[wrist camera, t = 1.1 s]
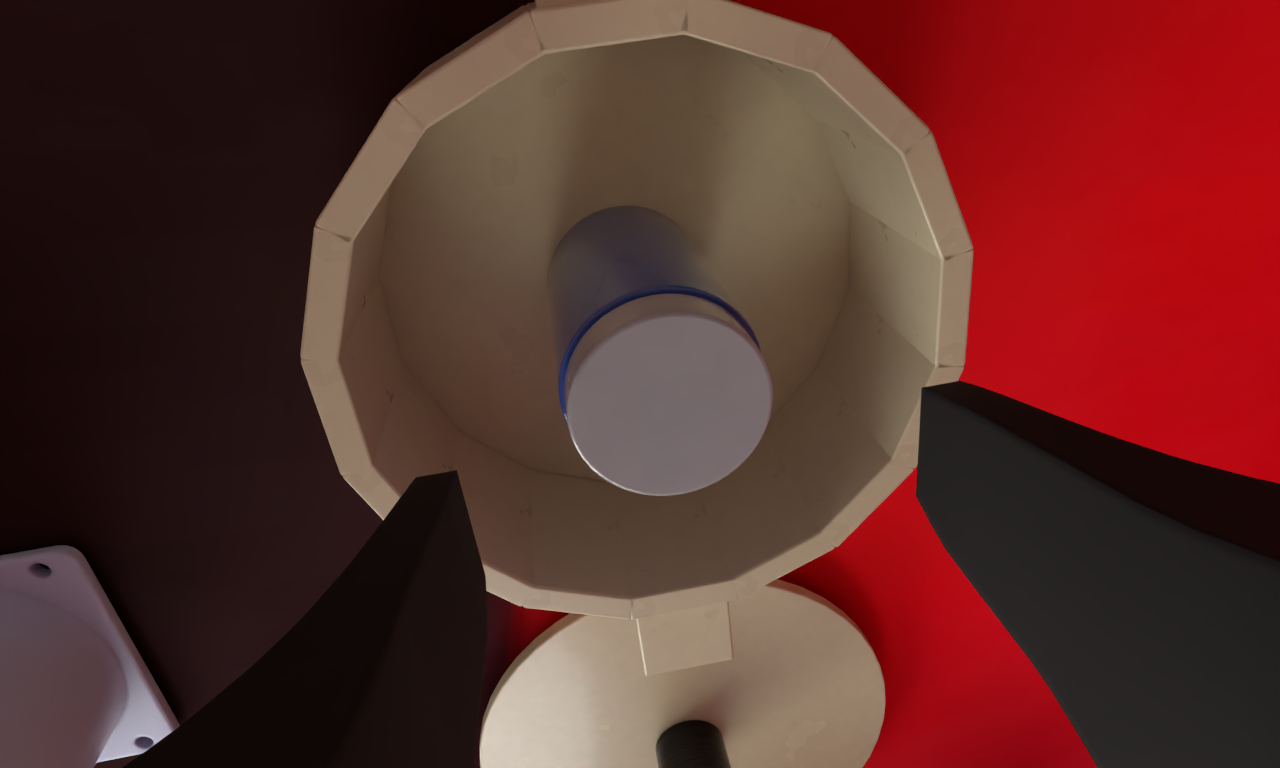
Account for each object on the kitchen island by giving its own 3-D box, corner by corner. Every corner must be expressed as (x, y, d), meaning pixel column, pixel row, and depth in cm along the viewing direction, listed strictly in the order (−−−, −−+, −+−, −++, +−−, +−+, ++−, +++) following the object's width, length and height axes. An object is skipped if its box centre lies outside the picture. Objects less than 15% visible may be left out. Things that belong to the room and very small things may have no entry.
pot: (450, 593, 25) (434, 741, 20) (238, -108, 16) (119, -147, 11) (863, 515, 26) (944, 639, 21) (872, -186, 17) (1014, -255, 12)
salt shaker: (560, 363, 21) (580, 519, 15) (534, 218, 19) (542, 327, 13) (706, 339, 22) (784, 482, 15) (693, 193, 20) (776, 288, 14)
